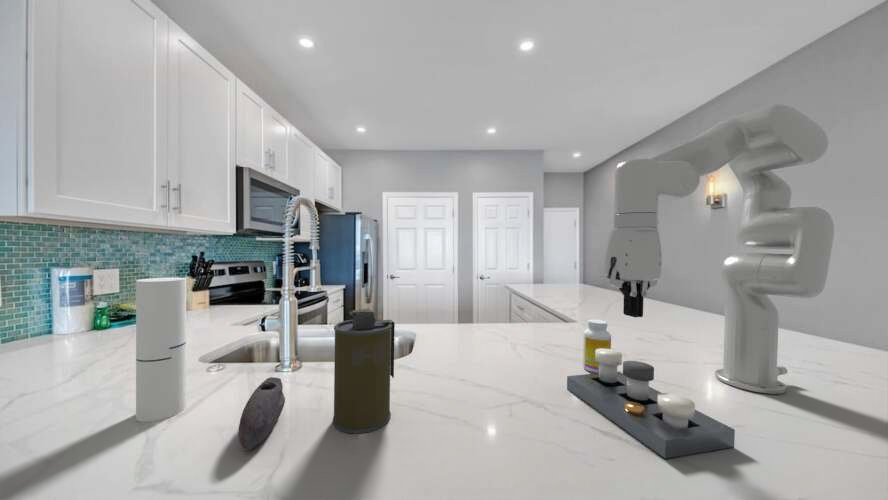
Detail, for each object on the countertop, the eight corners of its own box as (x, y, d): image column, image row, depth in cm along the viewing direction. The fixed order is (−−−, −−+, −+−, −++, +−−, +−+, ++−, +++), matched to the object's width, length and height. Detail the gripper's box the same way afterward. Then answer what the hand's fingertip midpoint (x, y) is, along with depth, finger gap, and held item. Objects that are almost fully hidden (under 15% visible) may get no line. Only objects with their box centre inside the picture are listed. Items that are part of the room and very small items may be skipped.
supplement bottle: (613, 375, 83) (615, 325, 83) (585, 373, 84) (587, 323, 84) (606, 366, 90) (607, 319, 89) (580, 364, 91) (581, 317, 91)
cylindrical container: (194, 406, 64) (195, 278, 64) (152, 424, 57) (152, 282, 57) (170, 399, 66) (170, 276, 66) (126, 417, 60) (126, 280, 59)
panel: (566, 389, 75) (567, 371, 75) (618, 384, 78) (619, 367, 78) (664, 459, 50) (665, 433, 50) (734, 447, 54) (735, 423, 54)
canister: (338, 440, 54) (339, 319, 54) (328, 411, 63) (329, 307, 63) (400, 424, 59) (402, 313, 59) (383, 399, 68) (384, 303, 68)
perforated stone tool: (261, 459, 49) (261, 413, 49) (222, 462, 48) (222, 415, 48) (289, 409, 64) (290, 373, 64) (260, 411, 63) (260, 375, 63)
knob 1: (609, 373, 75) (609, 347, 75) (627, 383, 70) (627, 355, 70) (589, 375, 74) (590, 349, 74) (606, 385, 69) (607, 357, 69)
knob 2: (673, 424, 60) (673, 391, 59) (701, 441, 54) (702, 405, 54) (649, 427, 58) (650, 394, 58) (676, 445, 53) (677, 408, 53)
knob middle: (637, 389, 67) (638, 359, 67) (659, 400, 62) (660, 369, 62) (616, 391, 66) (617, 361, 66) (637, 403, 61) (638, 371, 61)
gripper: (648, 225, 71) (646, 310, 71) (590, 223, 67) (588, 313, 67) (682, 223, 64) (679, 318, 64) (619, 221, 59) (617, 322, 60)
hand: (632, 315), depth 65 cm, fingers closed
